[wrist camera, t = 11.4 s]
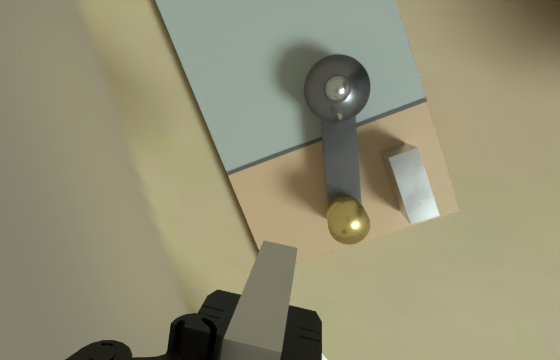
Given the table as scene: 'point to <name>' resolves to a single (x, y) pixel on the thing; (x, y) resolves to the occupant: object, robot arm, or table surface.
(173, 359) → the robot arm
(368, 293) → the table surface
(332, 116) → the swing bar
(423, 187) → the block
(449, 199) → the door board
